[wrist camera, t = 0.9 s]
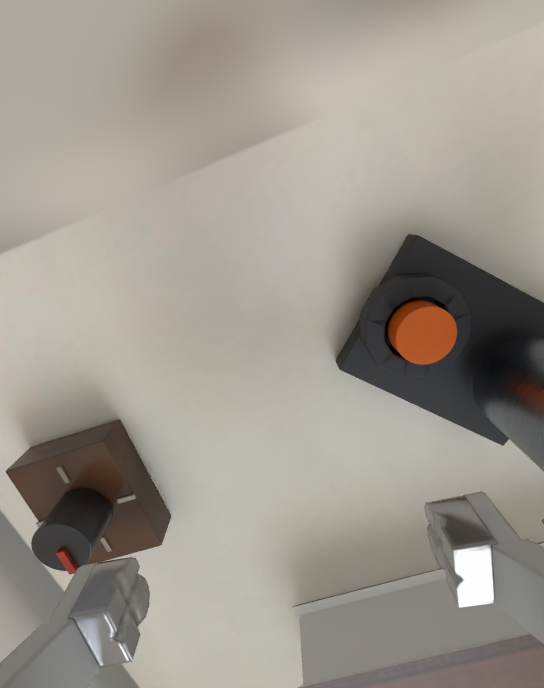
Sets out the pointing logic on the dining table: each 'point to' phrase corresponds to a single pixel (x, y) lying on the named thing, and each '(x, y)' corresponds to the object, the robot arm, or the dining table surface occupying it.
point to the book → (414, 640)
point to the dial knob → (72, 530)
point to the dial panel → (96, 486)
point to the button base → (472, 332)
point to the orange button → (422, 332)
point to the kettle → (515, 393)
